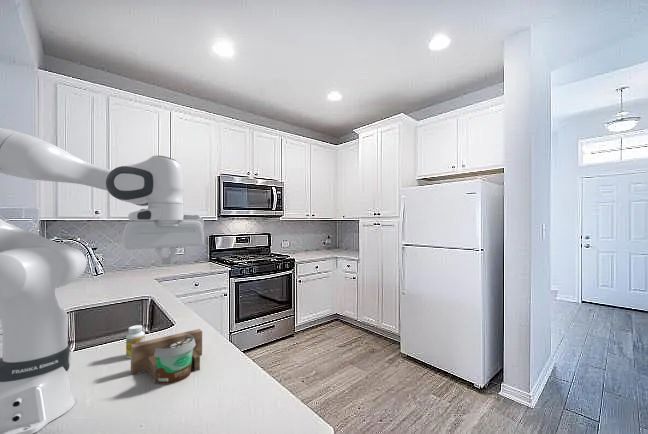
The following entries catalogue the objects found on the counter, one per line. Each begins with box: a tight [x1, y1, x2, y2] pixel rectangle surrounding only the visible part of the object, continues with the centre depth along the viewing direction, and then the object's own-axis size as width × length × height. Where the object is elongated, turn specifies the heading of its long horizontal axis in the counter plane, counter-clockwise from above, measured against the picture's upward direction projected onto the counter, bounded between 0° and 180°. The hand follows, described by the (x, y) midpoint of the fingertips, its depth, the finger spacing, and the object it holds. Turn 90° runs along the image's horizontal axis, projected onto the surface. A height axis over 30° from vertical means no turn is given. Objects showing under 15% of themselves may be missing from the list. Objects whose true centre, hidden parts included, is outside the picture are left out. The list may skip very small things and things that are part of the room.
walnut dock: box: [130, 328, 203, 384], centre depth 91 cm, size 20×13×8 cm, turn 131°
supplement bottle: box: [125, 324, 146, 360], centre depth 100 cm, size 5×5×10 cm
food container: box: [154, 334, 196, 385], centre depth 85 cm, size 12×6×10 cm, turn 159°
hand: (165, 263), depth 82 cm, fingers closed
